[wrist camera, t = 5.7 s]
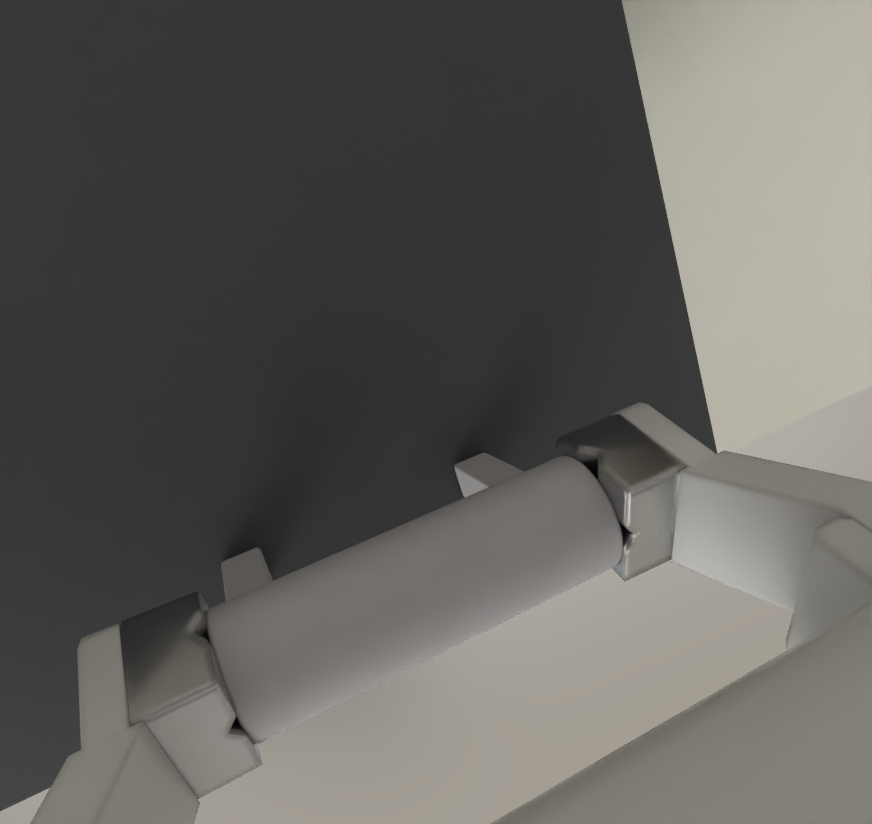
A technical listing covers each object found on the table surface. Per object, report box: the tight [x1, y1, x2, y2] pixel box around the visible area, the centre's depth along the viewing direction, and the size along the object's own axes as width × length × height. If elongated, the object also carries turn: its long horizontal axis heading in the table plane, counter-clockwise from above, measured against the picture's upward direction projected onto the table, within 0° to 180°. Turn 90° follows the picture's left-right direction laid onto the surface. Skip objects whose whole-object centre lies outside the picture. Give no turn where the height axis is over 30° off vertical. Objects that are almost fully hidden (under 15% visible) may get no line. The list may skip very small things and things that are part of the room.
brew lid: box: [0, 0, 717, 811], centre depth 10 cm, size 14×16×5 cm
